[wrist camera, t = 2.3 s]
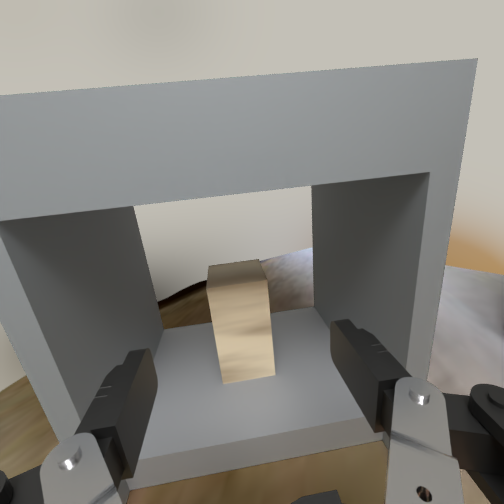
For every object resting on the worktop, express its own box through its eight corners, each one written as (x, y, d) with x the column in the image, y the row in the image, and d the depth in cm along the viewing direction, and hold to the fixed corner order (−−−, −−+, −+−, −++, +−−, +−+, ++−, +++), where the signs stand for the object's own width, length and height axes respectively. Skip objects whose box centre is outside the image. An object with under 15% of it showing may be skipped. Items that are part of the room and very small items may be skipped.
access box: (156, 350, 35) (100, 141, 26) (325, 323, 36) (324, 120, 28) (98, 522, 18) (-107, 103, 10) (414, 456, 20) (477, 58, 11)
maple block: (222, 348, 29) (208, 265, 26) (266, 341, 30) (258, 259, 26) (223, 384, 24) (206, 288, 21) (275, 375, 25) (267, 280, 21)
